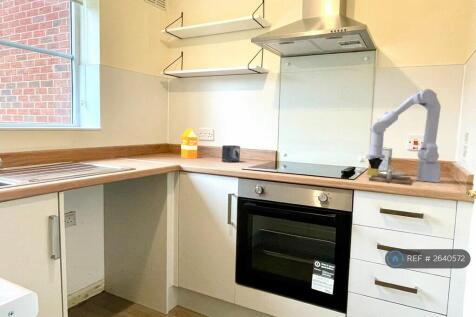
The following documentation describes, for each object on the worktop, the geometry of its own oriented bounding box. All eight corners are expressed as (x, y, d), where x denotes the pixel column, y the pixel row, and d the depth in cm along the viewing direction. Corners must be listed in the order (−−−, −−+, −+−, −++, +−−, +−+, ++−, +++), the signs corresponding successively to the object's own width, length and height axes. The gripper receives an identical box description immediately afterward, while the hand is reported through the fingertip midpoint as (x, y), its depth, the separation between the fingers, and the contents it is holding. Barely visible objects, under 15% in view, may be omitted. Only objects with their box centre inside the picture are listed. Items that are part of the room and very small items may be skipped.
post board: (410, 179, 161) (411, 168, 160) (409, 185, 143) (410, 173, 143) (373, 175, 169) (374, 165, 168) (368, 180, 152) (369, 169, 151)
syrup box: (379, 172, 182) (381, 147, 180) (390, 173, 178) (392, 147, 177) (376, 173, 177) (378, 147, 176) (387, 174, 174) (389, 148, 172)
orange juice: (190, 156, 232) (191, 128, 230) (197, 157, 225) (197, 129, 223) (180, 157, 227) (181, 128, 225) (187, 158, 220) (187, 129, 218)
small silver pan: (404, 176, 158) (405, 169, 158) (403, 180, 148) (404, 172, 148) (369, 173, 166) (369, 166, 166) (365, 176, 156) (366, 168, 155)
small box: (227, 162, 204) (228, 146, 203) (221, 161, 209) (221, 145, 208) (240, 161, 211) (240, 145, 210) (233, 160, 216) (234, 145, 215)
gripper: (376, 145, 169) (374, 171, 170) (361, 145, 160) (359, 172, 161) (389, 146, 163) (387, 172, 164) (374, 146, 154) (372, 174, 155)
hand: (374, 173), depth 162 cm, fingers closed
